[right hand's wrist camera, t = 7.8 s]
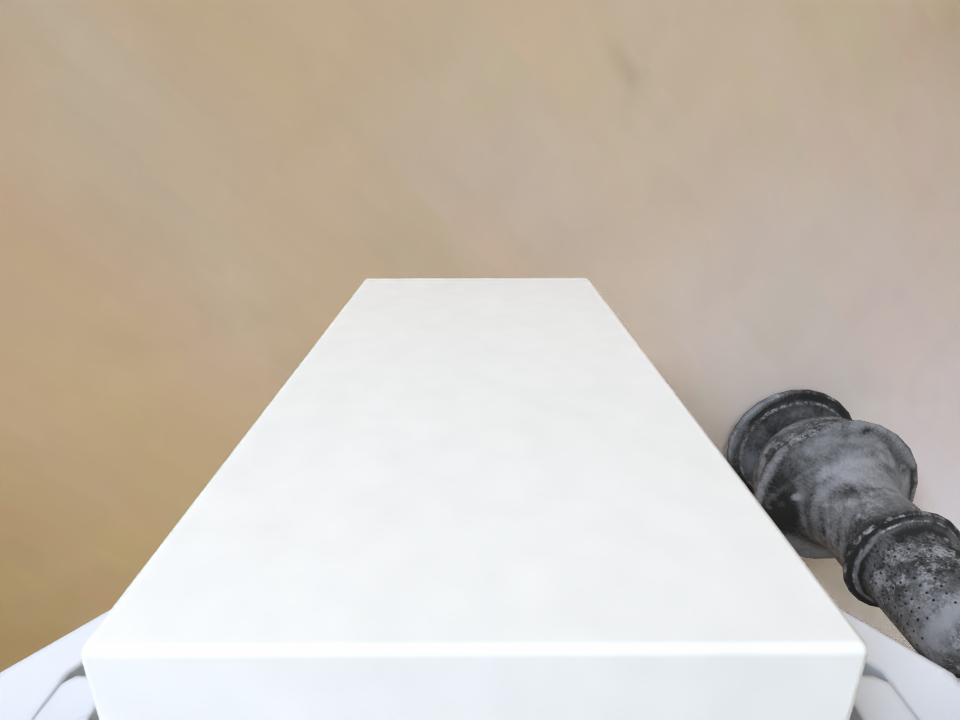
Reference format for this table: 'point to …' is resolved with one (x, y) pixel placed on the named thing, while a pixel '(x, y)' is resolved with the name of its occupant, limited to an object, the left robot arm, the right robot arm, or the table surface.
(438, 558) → the box
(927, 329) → the table surface
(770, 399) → the dark grey chess piece
